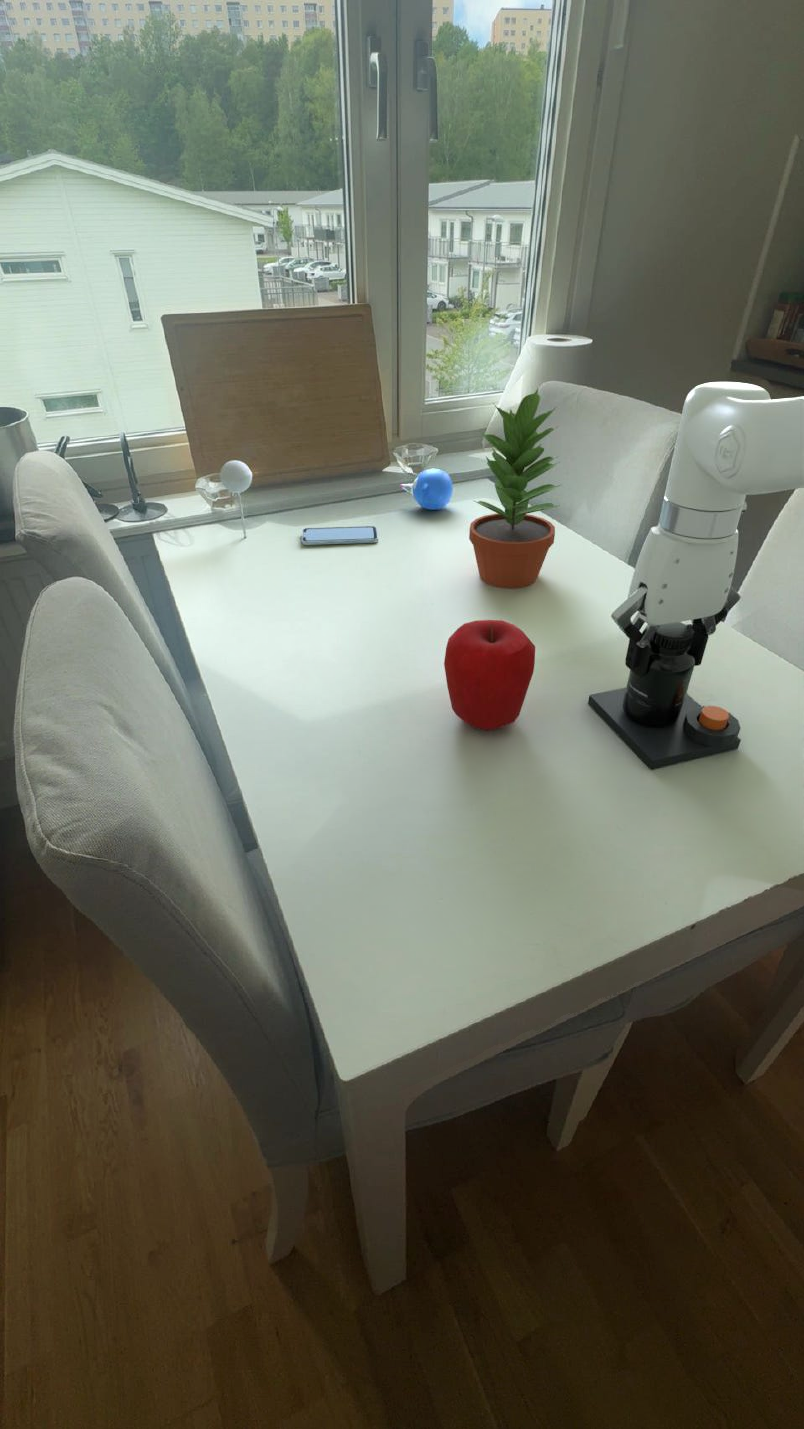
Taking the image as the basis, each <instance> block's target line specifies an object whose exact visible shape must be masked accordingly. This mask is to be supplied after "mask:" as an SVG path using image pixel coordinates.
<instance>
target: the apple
mask: <svg viewBox="0 0 804 1429" xmlns="http://www.w3.org/2000/svg"><path fill="white" fill-rule="evenodd" d="M443 661H444V662H443V665H444V666H443V667H444V672H445V679H446V686H447V691H448V696H449V702H450V705H451V709H452V711H453V712H454V713H455V715H456V716H457V717H458V718H459V719H461V721H463V722H464V723H466V724H468V725H469V726H471V727H473V728H476V729H478V730H481V731H486V732H487V731H488V732H490V731H495V730H498V729H501V728H504V727H507V726H509V725H511V724H514V722H515V721H516V720H517V719H518V717H520V714H521V710H522V709H523V705H524V701H525V699H526V695H527V694H528V693H527V692H528V690H529V687H530V684H531V682H532V681H531V680H532V677H533V675H534V672H535V662H536V645H535V644H534V643H533V641H531V639H530V637H528V636H527V634H526V633H525V632H524V631H523V630H522V629H520V628H519V627H518V626H516V625H515V624H513V623H510V622H508V621H504V620H499V619H483V620H479V619H478V620H473V621H470V622H466V623H463V624H462V625H460V626H459V627H458V628H457V629H456V630H455V631H454V632H453V633H452V634H451V636H449V638H448V640H447V643H446V647H445V653H444V660H443Z"/></svg>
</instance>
